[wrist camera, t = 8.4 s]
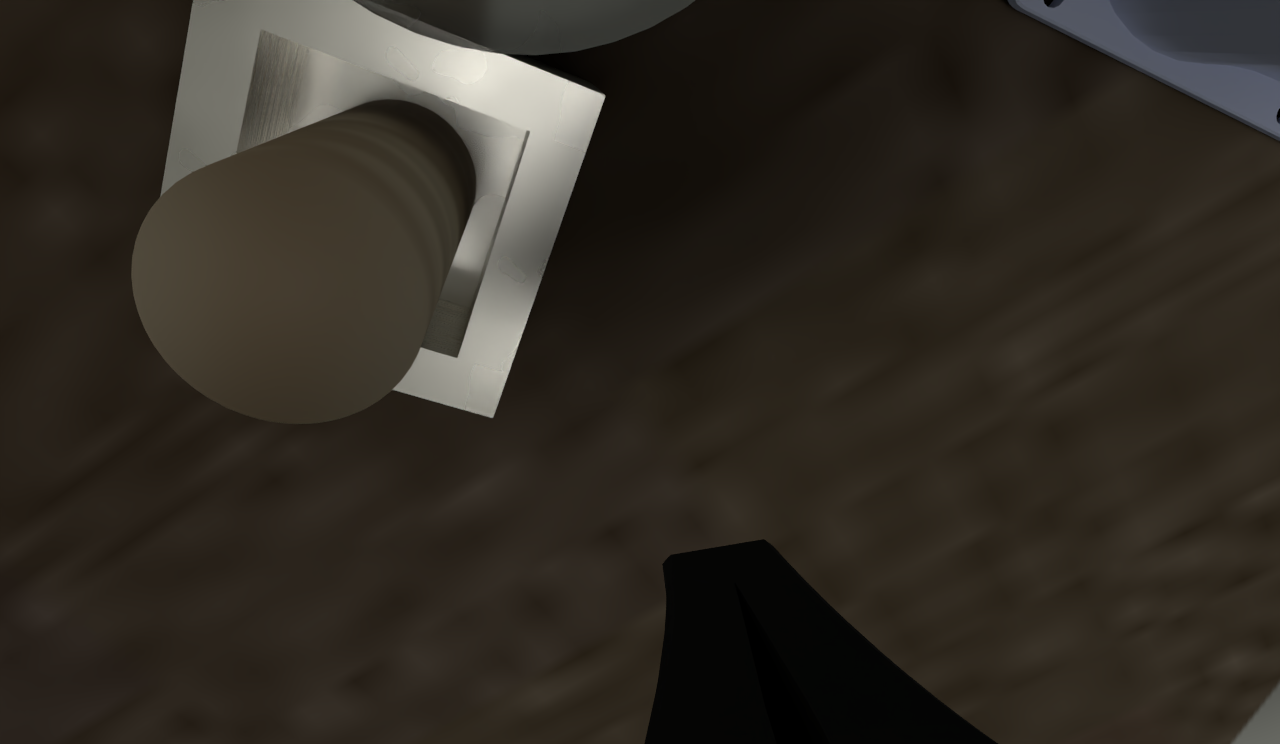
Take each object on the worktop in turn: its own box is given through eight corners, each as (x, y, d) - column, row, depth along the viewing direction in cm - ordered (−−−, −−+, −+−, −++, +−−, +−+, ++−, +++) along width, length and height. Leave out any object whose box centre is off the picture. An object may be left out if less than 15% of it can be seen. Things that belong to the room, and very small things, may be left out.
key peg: (485, 117, 16) (442, 187, 9) (466, 267, 17) (412, 439, 10) (321, 83, 15) (126, 128, 8) (313, 241, 17) (135, 404, 9)
